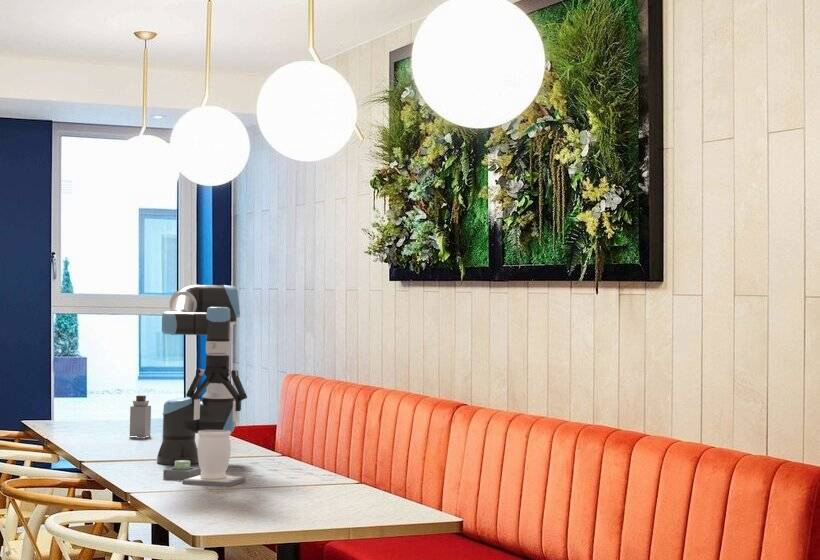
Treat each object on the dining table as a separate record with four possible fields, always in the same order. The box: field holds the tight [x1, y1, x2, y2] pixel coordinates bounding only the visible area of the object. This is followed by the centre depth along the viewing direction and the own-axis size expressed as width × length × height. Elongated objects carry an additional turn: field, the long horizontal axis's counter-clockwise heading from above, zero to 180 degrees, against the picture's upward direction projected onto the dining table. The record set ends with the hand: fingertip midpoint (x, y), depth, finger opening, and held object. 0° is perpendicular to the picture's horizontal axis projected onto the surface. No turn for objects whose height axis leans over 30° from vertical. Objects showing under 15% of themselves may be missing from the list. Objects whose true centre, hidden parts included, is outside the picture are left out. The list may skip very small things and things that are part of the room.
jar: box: [197, 430, 232, 479], centre depth 359 cm, size 11×10×15 cm
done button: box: [174, 460, 191, 471], centre depth 367 cm, size 5×5×3 cm
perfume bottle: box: [129, 394, 152, 437], centre depth 484 cm, size 7×7×18 cm
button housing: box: [162, 466, 202, 481], centre depth 367 cm, size 9×9×3 cm
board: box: [181, 475, 247, 488], centre depth 359 cm, size 16×13×2 cm
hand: (215, 420), depth 360 cm, fingers open, 13 cm apart
